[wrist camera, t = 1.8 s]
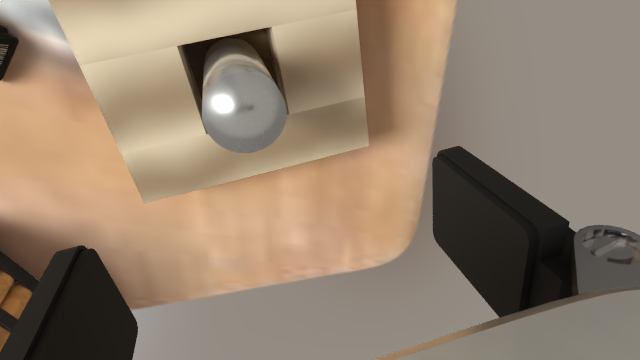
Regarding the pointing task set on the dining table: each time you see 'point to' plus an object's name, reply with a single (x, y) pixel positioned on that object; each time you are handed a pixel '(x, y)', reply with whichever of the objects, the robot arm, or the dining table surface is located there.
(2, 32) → the electric trimmer
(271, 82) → the peg
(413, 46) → the dining table surface
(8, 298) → the ammunition clip
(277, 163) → the dock board
